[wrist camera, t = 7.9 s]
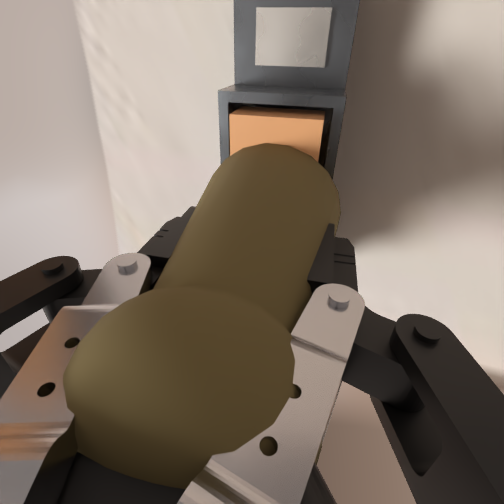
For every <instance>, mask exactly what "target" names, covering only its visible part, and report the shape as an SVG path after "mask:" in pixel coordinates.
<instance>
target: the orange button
mask: <svg viewBox="0 0 504 504" xmlns="http://www.w3.org/2000/svg"><path fill="white" fill-rule="evenodd" d="M324 117H325V111H318V110H301V109H284V108H267V107H250V106H242V107H240V108H238V109H237V110H235V111H234V112H232V113H230V114H229V123H230V156H231V155H233V154H234V153H236V152H237V151H239V150H241V149H242V148H245V147H249V146H254V145H258V144H263V143H271V144H279V145H288V146H291V147H293V148H295V149H298V150H300V151H302V152H304V153H306V154H308V155H310V156H312V157H313V158H314V159H315V160H316V161H317V162H318V160H319V153H320V146H321V139H322V132H323V125H324Z"/></svg>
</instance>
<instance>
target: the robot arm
mask: <svg viewBox="0 0 504 504" xmlns="http://www.w3.org/2000/svg"><path fill="white" fill-rule="evenodd" d="M195 208H196V207H193V206H191V207H190V208H189V209H188V210H187V211H186V212H185V213H184V214H183V216H182V217H176V218H174V219H172V220H170V221H168V222H166V223H165V224H164V225H163V226H162V227H161V229H160V231H158V232H157V233H156V234H155V235H154V236H153V237H152V238H151V239H150V240H149V241H148V242H147V243H146V244H145V245H144V246H143V247H142V248H141V249H140V250H139V251H138V252H137V253H127V254H122V255H119V256H117V257H114V258H113V259H111V260H110V261H108V262H107V263H106V265H105V266H104V268H103V269H94V270H81V268H80V265H79V263H78V260H77V259H75V258H73V257H70V256H58V257H53V258H49V259H46V260H43V261H41V262H39V263H37V264H35V265H33V266H31V267H29V268H27V269H24V270H22V271H20V272H18V273H16V274H14V275H12V276H10V277H8V278H6V279H4V280H2V281H0V334H1V333H2V332H3V331H5V330H6V329H8V328H10V327H11V326H13V325H15V324H16V323H18V322H20V321H21V320H23V319H25V318H26V317H28V316H30V315H32V314H33V313H35V312H37V311H38V310H40V309H42V308H43V310H44V312H45V315H46V317H47V319H48V320H49V323H48V324H47V325H45V326H43V327H42V328H40V329H39V330H37V331H35V332H34V333H32V334H31V335H29V336H28V337H26V338H24V339H23V340H21V341H20V342H18V343H17V344H15V345H14V346H12V347H10V348H9V349H7V350H6V351H4V352H0V504H337V503H336V502H335V500H334V498H333V496H332V494H331V492H330V490H329V488H328V486H327V484H326V483H325V481H324V479H323V477H322V475H321V473H320V471H319V469H318V467H317V465H316V463H315V459H316V456H317V453H318V450H319V447H320V444H321V440H322V442H323V439H324V436H325V433H326V430H327V426H328V424H329V420H330V417H331V414H332V411H333V408H334V405H335V402H336V399H337V395H338V392H339V389H340V386H341V383H342V381H344V382H346V383H348V384H350V385H352V386H354V387H356V388H358V389H360V390H362V391H364V392H365V393H367V394H369V395H370V398H371V401H372V403H373V405H374V408H375V410H376V412H377V414H378V417H379V419H380V421H381V423H382V426H383V428H384V430H385V432H386V435H387V437H388V439H389V442H390V444H391V446H392V449H393V451H394V453H395V455H396V458H397V460H398V462H399V464H400V467H401V469H402V471H403V473H404V476H405V478H406V481H407V483H408V485H409V487H410V490H411V492H412V494H413V496H414V499H415V501H416V503H417V504H504V395H503V393H502V392H501V391H500V390H499V388H498V387H497V386H496V385H495V384H494V382H493V381H492V380H491V379H490V377H489V376H488V375H487V374H486V373H485V371H484V370H483V369H482V368H481V367H480V365H479V364H478V363H477V362H476V360H475V359H474V358H473V357H472V356H471V354H470V353H469V352H468V351H467V350H466V348H465V347H464V346H463V345H462V343H461V342H460V341H459V340H458V339H457V337H456V336H455V335H454V334H453V333H452V331H451V330H450V329H449V328H447V327H446V326H445V325H444V324H442V323H441V322H439V321H437V320H435V319H433V318H431V317H428V316H424V315H420V314H407V315H404V316H402V317H400V318H399V319H398V320H397V322H395V321H392V320H390V319H387V318H385V317H382V316H380V315H378V314H376V313H374V312H372V311H371V310H370V309H368V308H367V307H366V306H365V302H364V299H363V298H362V296H361V295H360V294H359V293H358V286H357V274H356V265H355V264H356V263H355V251H354V246H353V245H352V244H351V243H350V241H349V240H348V239H345V238H337V237H334V236H335V224H333V223H329V224H328V226H327V229H326V231H325V234H324V236H323V239H322V241H321V244H320V246H319V249H318V251H317V254H316V256H315V259H314V261H313V264H312V266H311V269H310V271H309V274H308V278H307V282H308V283H309V285H310V287H311V292H312V297H311V298H310V300H309V302H308V304H307V306H306V307H305V309H304V311H303V313H302V315H301V316H300V318H299V320H298V322H297V324H296V325H295V327H294V329H293V331H292V333H291V336H292V337H293V338H292V339H291V347H292V350H293V354H294V357H295V368H294V377H293V385H294V386H295V387H296V389H297V391H298V393H299V396H300V397H299V398H297V399H292V398H290V397H289V399H288V401H287V403H286V404H285V406H284V408H283V409H282V411H281V413H280V414H279V416H278V418H277V419H276V421H275V423H274V424H273V425H272V426H270V427H269V428H267V429H266V430H264V431H263V432H262V433H260V434H259V435H257V436H256V437H254V438H253V439H251V440H250V441H249V442H247V443H246V444H244V445H243V446H241V447H240V448H238V449H237V450H236V451H234V452H229V453H223V454H217V455H212V457H211V459H210V460H209V462H208V463H207V465H206V466H205V468H204V469H203V470H202V471H201V472H200V473H199V474H198V475H197V476H196V477H195V478H194V479H193V481H192V482H191V483H190V485H189V486H188V487H187V489H181V488H174V487H169V486H164V485H159V484H154V483H151V482H147V481H144V480H140V479H137V478H133V477H130V476H127V475H124V474H122V473H119V472H116V471H114V470H111V469H109V468H106V467H104V466H102V465H101V464H99V463H97V462H95V461H93V460H92V459H90V458H88V457H86V456H84V455H83V454H81V453H79V452H77V450H78V445H77V441H76V437H75V415H74V414H73V413H72V412H71V411H70V410H69V409H68V408H67V403H66V397H65V391H64V385H63V374H64V372H65V369H66V367H67V365H68V363H69V361H70V359H71V357H72V355H73V353H74V351H75V349H76V347H77V345H78V344H79V343H80V341H81V340H82V339H83V338H84V337H85V336H86V334H87V333H88V332H89V331H90V330H91V329H92V328H93V327H94V326H95V324H96V323H97V322H98V321H99V320H100V319H101V318H102V317H103V316H104V315H106V314H107V313H109V312H110V311H112V310H113V309H115V308H116V307H118V306H119V305H121V304H122V303H124V302H125V301H127V300H129V299H132V298H134V297H136V296H138V295H141V294H143V293H145V292H148V291H150V290H153V288H154V286H155V284H156V283H157V281H158V279H159V277H160V275H161V273H162V271H163V269H164V267H165V265H166V264H167V262H168V260H169V258H170V256H171V255H172V253H173V251H174V249H175V247H176V245H177V243H178V241H179V239H180V237H181V235H182V233H183V231H184V229H185V227H186V225H187V223H188V222H189V220H190V218H191V216H192V214H193V212H194V210H195ZM265 439H268V440H270V441H271V442H272V444H273V446H274V448H275V452H276V453H275V454H274V455H272V456H266V455H264V454H263V453H262V452H261V450H260V444H261V442H262V441H263V440H265Z"/></svg>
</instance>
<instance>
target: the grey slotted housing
mask: <svg viewBox="0 0 504 504" xmlns="http://www.w3.org/2000/svg"><path fill="white" fill-rule="evenodd" d="M359 2H360V0H234V62H235V84H234V85H232V86H229V87H226V88H223V89H221V90H218V104H219V130H220V156H221V164H222V163H223V161H224V160H225V159H226V158H228V157H229V156H230V123H229V114H230V113H232V112H234V111H235V110H237V109H238V108H240V107H242V106H250V107H267V108H284V109H301V110H318V111H325V117H324V125H323V132H322V139H321V146H320V153H319V160H318V163H319V164H320V165H321V166H322V167H323V168H324V169H325V170H326V171H328V173H329V175H330V177H331V179H333V173H334V167H335V161H336V155H337V149H338V143H339V138H340V132H341V126H342V120H343V114H344V108H345V102H346V92H345V86H346V80H347V74H348V68H349V62H350V56H351V50H352V44H353V38H354V32H355V26H356V20H357V14H358V8H359Z"/></svg>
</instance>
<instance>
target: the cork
mask: <svg viewBox="0 0 504 504" xmlns="http://www.w3.org/2000/svg"><path fill="white" fill-rule="evenodd" d="M340 214H341V210H340V202H339V194H338V190H337V188H336V186H335V184H334V183H333V181H332V179H331V177H330V175H329V173H328V171H326V170H325V169H324V168H323V167H322V166H321V165H320V164H319V163H318V162H317V161H316V160H315V159H314V158H313V157H312V156H310V155H308V154H306V153H304V152H302V151H300V150H298V149H295V148H293V147H291V146H288V145H279V144H271V143H263V144H258V145H254V146H249V147H245V148H242V149H241V150H239V151H237V152H236V153H234V154H233V155H231V156H229V157H228V158H226V159H225V160H224V161H223V163H222V164H221V165H220V166H219V168H218V169H217V170H216V172H215V173H214V174H213V176H212V178H211V180H210V182H209V183H208V185H207V187H206V189H205V191H204V193H203V195H202V197H201V199H200V201H199V203H198V204H197V206H196V208H195V210H194V212H193V214H192V216H191V218H190V220H189V222H188V223H187V225H186V227H185V229H184V231H183V233H182V235H181V237H180V239H179V241H178V243H177V245H176V247H175V249H174V251H173V253H172V255H171V256H170V258H169V260H168V262H167V264H166V265H165V267H164V269H163V271H162V273H161V275H160V277H159V279H158V281H157V283H156V284H155V286H154V288H153V290H150V291H148V292H145V293H143V294H141V295H138V296H136V297H134V298H132V299H129V300H127V301H125V302H124V303H122V304H121V305H119V306H118V307H116V308H115V309H113V310H112V311H110V312H109V313H107V314H106V315H104V316H103V317H102V318H101V319H100V320H99V321H98V322H97V323H96V324H95V326H94V327H93V328H92V329H91V330H90V331H89V332H88V333H87V334H86V336H85V337H84V338H83V339H82V340H81V341H80V343H79V344H78V345H77V347H76V349H75V351H74V353H73V355H72V357H71V359H70V361H69V363H68V365H67V367H66V369H65V372H64V374H63V385H64V391H65V397H66V403H67V408H68V409H69V410H70V411H71V412H72V413H73V414H74V415H75V437H76V441H77V445H78V450H77V452H79V453H81V454H83V455H84V456H86V457H88V458H90V459H92V460H93V461H95V462H97V463H99V464H101V465H102V466H104V467H106V468H109V469H111V470H114V471H116V472H119V473H122V474H124V475H127V476H130V477H133V478H137V479H140V480H144V481H147V482H151V483H154V484H159V485H164V486H169V487H174V488H181V489H187V487H188V486H189V485H190V483H191V482H192V481H193V479H194V478H195V477H196V476H197V475H198V474H199V473H200V472H201V471H202V470H203V469H204V468H205V466H206V465H207V463H208V462H209V460H210V459H211V457H212V455H217V454H223V453H229V452H234V451H236V450H237V449H238V448H240V447H241V446H243V445H244V444H246V443H247V442H249V441H250V440H251V439H253V438H254V437H256V436H257V435H259V434H260V433H262V432H263V431H264V430H266V429H267V428H269V427H270V426H272V425H273V424H274V423H275V421H276V419H277V418H278V416H279V414H280V413H281V411H282V409H283V408H284V406H285V404H286V403H287V401H288V399H289V397H290V398H292V399H297V398H299V397H300V396H299V393H298V391H297V389H296V387H295V386H294V385H293V377H294V368H295V357H294V354H293V350H292V347H291V339H292V338H293V337H292V336H291V333H292V331H293V329H294V327H295V325H296V324H297V322H298V320H299V318H300V316H301V315H302V313H303V311H304V309H305V307H306V306H307V304H308V302H309V300H310V298H311V297H312V292H311V287H310V285H309V283H308V282H307V278H308V274H309V271H310V269H311V266H312V264H313V261H314V259H315V256H316V254H317V251H318V249H319V246H320V244H321V241H322V239H323V236H324V234H325V231H326V229H327V226H328V224H329V223H333V224H335V235H336V231H337V227H338V223H339V218H340ZM334 237H335V236H334ZM321 448H322V440H321V444H320V447H319V450H318V453H317V456H316V459H315V463H316V465H317V462H318V458H319V454H320V451H321ZM260 450H261V452H262V453H263V454H264V455H266V456H272V455H274V454H275V453H276V452H275V448H274V446H273V444H272V442H271V441H270V440H268V439H265V440H263V441H262V442H261V444H260Z"/></svg>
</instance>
